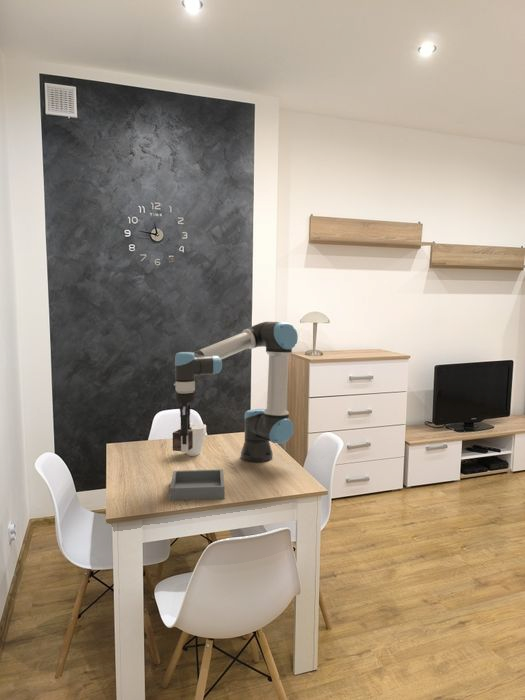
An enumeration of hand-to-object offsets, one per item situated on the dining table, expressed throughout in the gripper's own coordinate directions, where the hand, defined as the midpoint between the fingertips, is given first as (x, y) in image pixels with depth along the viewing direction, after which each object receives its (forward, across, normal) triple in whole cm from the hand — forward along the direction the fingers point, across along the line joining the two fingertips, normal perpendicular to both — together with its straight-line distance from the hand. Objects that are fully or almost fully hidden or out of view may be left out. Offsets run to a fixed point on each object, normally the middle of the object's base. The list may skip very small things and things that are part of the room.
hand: (185, 448), depth 195 cm
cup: (+15, -44, 0) cm, 47 cm away
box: (+1, 0, -1) cm, 1 cm away
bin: (+15, +5, +5) cm, 16 cm away
